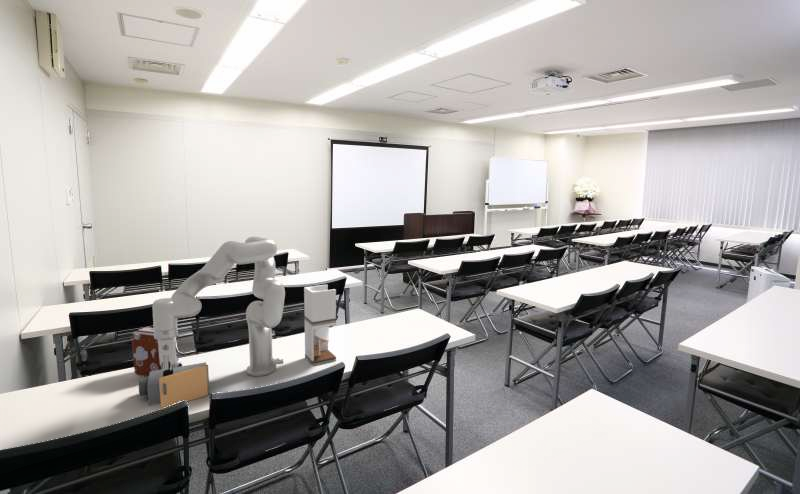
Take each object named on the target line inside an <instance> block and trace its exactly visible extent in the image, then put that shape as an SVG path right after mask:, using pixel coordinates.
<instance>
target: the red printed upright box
mask: <svg viewBox="0 0 800 494" xmlns="http://www.w3.org/2000/svg"><path fill="white" fill-rule="evenodd" d="M131 345H132V346H131V347H132V358H133V369H134V374H135V375H136V376H140V377H147V378H149V374H150V371H156V370H162V369H163V365H162V366H161V365H160V360H159V348H158V340H157V339H154V327H149V326H146V327H145V326H144V327H143V328H138V330H135V331H134V332H132V333H131ZM177 354H178V348H177V347H176V355H177ZM179 359H180V358H179V356H176V363H175V364H174V365H173V364H172V368H174V367H180V366H183V364H182V362H179Z"/></svg>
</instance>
